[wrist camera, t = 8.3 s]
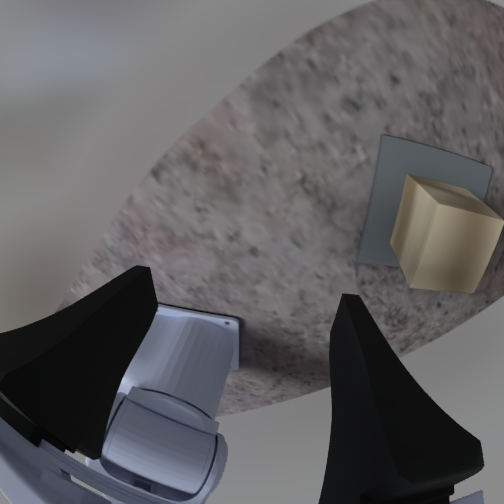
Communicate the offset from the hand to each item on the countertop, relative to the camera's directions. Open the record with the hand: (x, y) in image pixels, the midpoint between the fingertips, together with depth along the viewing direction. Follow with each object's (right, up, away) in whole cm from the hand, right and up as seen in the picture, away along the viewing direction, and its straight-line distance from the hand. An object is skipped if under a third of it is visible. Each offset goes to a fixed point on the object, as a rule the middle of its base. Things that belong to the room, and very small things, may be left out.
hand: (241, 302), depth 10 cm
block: (+12, +4, +6) cm, 14 cm away
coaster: (+13, +5, +6) cm, 15 cm away
